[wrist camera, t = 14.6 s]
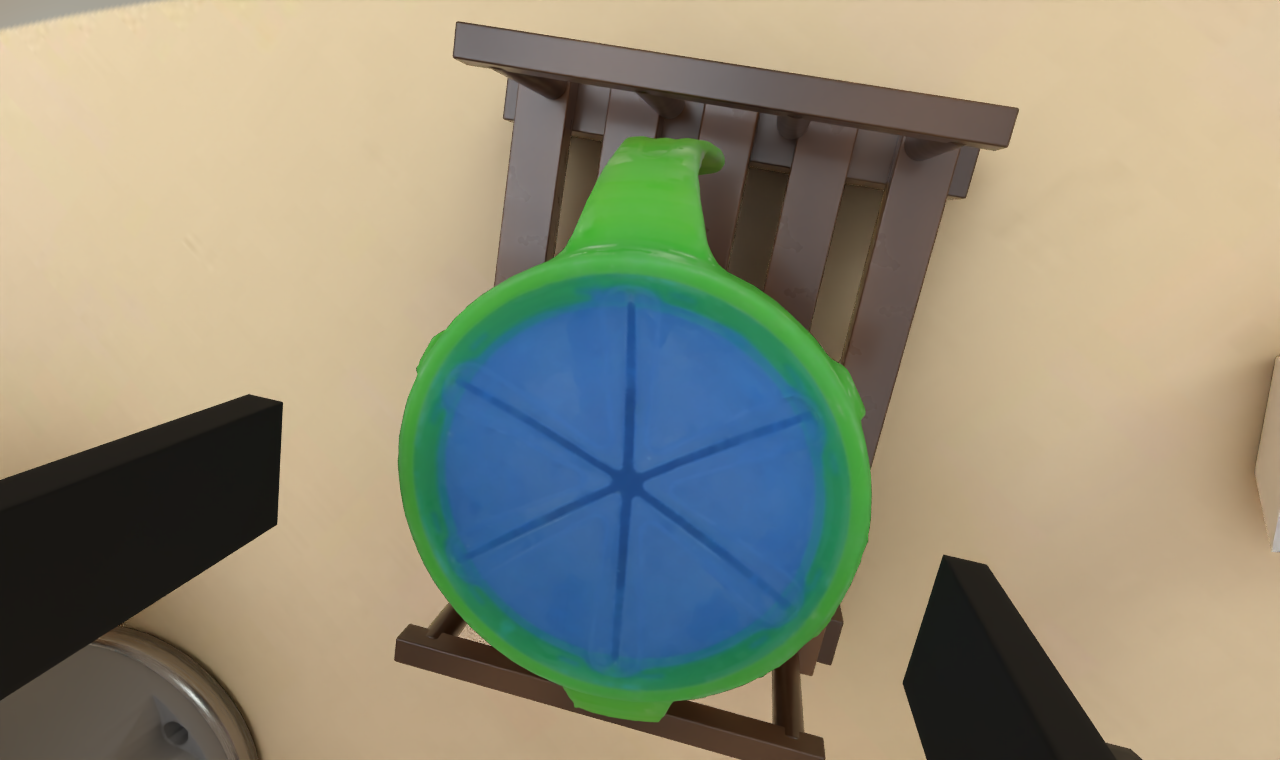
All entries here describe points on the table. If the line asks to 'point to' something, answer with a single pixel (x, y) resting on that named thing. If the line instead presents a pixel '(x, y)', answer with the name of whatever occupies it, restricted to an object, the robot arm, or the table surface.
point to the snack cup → (637, 457)
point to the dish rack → (748, 137)
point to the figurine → (1271, 462)
